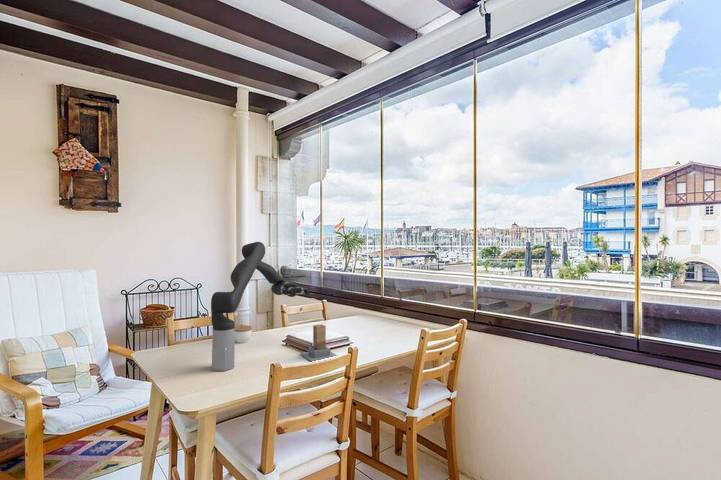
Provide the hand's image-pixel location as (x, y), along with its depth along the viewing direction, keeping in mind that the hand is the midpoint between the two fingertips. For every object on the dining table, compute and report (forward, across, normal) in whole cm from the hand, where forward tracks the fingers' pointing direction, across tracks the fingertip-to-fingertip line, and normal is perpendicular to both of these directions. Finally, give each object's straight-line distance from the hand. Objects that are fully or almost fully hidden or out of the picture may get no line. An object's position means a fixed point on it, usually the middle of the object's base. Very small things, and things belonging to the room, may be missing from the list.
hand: (300, 292), depth 200 cm
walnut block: (+15, +4, +29) cm, 33 cm away
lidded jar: (-29, -22, +29) cm, 47 cm away
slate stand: (+15, +4, +29) cm, 33 cm away
